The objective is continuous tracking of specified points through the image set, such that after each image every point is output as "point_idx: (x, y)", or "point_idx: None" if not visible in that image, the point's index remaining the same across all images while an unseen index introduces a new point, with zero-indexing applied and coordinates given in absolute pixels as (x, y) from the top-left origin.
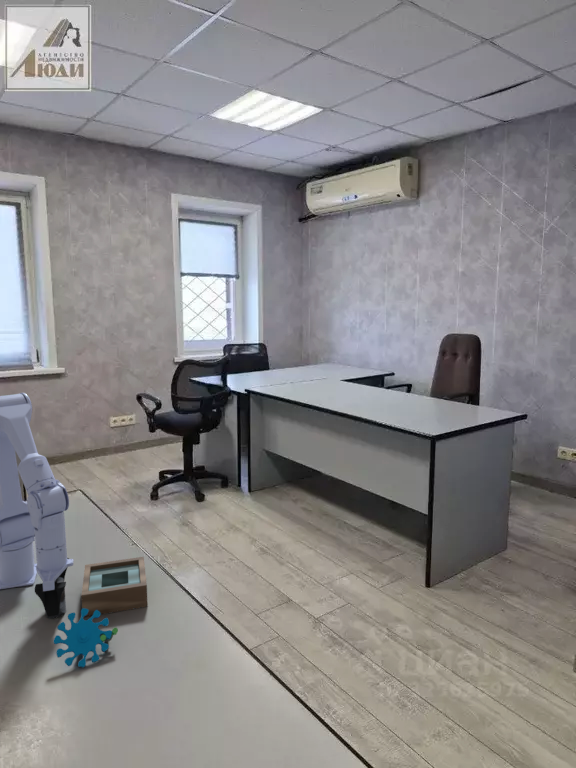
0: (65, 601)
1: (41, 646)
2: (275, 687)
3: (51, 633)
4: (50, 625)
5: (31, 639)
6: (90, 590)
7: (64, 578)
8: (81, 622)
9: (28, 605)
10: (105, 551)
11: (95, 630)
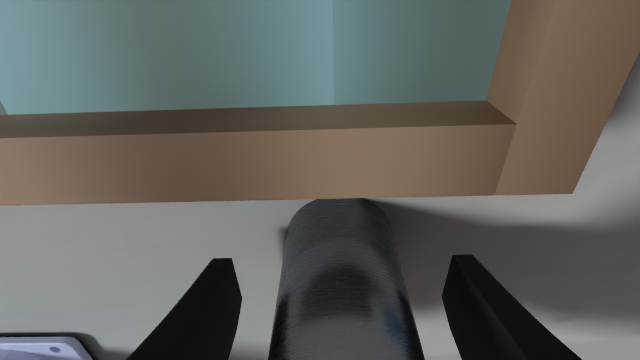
0: (339, 238)
1: (608, 259)
2: None
3: (526, 235)
4: (448, 246)
5: (520, 294)
6: (366, 82)
7: (175, 358)
8: None
9: (244, 328)
10: None
11: None
